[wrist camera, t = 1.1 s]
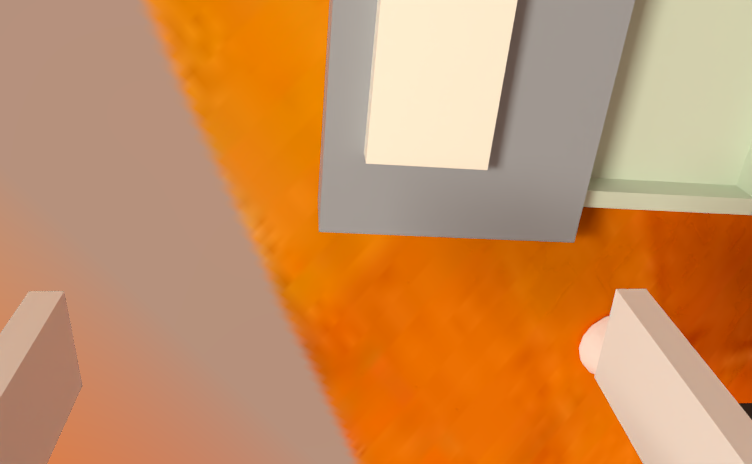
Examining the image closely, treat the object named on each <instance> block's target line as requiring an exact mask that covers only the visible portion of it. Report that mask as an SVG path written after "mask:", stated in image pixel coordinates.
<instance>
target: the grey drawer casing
mask: <svg viewBox="0 0 752 464" xmlns="http://www.w3.org/2000/svg"><path fill="white" fill-rule="evenodd" d="M634 3H635V0H518V1H517V6H516V12H515V17H514V23H513V29H512V34H511V40H510V46H509V51H508V57H507V62H506V68H505V74H504V79H503V85H502V91H501V96H500V102H499V108H498V113H497V119H496V124H495V130H494V136H493V141H492V147H491V153H490V158H489V164H488V169H487V170H475V169H456V168H438V167H420V166H401V165H383V164H366V161H365V156H364V147H365V135H366V124H367V113H368V102H369V90H370V79H371V68H372V57H373V45H374V34H375V23H376V12H377V0H330V4H329V21H328V38H327V55H326V73H325V90H324V107H323V124H322V141H321V158H320V175H319V192H318V218H319V232H335V233H359V234H383V235H406V236H430V237H454V238H477V239H501V240H525V241H549V242H572V243H574V241H575V237H576V233H577V229H578V225H579V221H580V217H581V213H582V209H583V205H584V201H585V197H586V193H587V189H588V185H589V181H590V177H591V173H592V170H593V166H594V162H595V158H596V154H597V150H598V146H599V142H600V138H601V134H602V130H603V126H604V122H605V118H606V114H607V110H608V106H609V102H610V98H611V94H612V90H613V86H614V82H615V78H616V74H617V70H618V66H619V62H620V58H621V54H622V50H623V47H624V43H625V39H626V35H627V31H628V27H629V23H630V19H631V15H632V11H633V7H634Z"/></svg>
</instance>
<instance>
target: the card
mask: <svg viewBox="0 0 752 464" xmlns="http://www.w3.org/2000/svg"><path fill="white" fill-rule="evenodd" d="M517 1H518V0H377V12H376V23H375V34H374V45H373V57H372V68H371V79H370V90H369V102H368V113H367V124H366V135H365V147H364V156H365V161H366V164H383V165H401V166H420V167H438V168H456V169H475V170H487V169H488V164H489V158H490V153H491V147H492V141H493V136H494V130H495V124H496V119H497V113H498V108H499V102H500V96H501V91H502V85H503V79H504V74H505V68H506V62H507V57H508V51H509V46H510V40H511V34H512V29H513V23H514V17H515V12H516V6H517Z"/></svg>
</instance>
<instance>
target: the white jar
mask: <svg viewBox="0 0 752 464" xmlns="http://www.w3.org/2000/svg"><path fill="white" fill-rule="evenodd" d="M608 320H609V316H607V317H604V318H603V319H601V320H599V321H598V322H596V323H595V324H593V325H592V326H591V327H590V328H589V329H588V331H587V332H586V333H585V334H584V335H583V337H582V340H581V343H580V346H579V353H580V360H581V361H582V363H583V364H584V366H585V367H586V368H587V370H588V371H589V372H591V373H593V374H595V373H596V369H597V365H598V361H599V356H600V352H601V348H602V344H603V340H604V336H605V332H606V328H607V324H608Z"/></svg>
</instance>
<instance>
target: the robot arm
mask: <svg viewBox="0 0 752 464" xmlns="http://www.w3.org/2000/svg"><path fill="white" fill-rule="evenodd" d="M595 379H596V381H597V382H598V384H599V386H600V388H601V390H602V391H603V393H604V395H605V397H606V398H607V400H608V402H609V404H610V406H611V407H612V409H613V411H614V413H615V414H616V416H617V418H618V420H619V422H620V423H621V425H622V427H623V429H624V430H625V432H626V434H627V436H628V438H629V439H630V441H631V443H632V445H633V446H634V448H635V450H636V452H637V454H638V455H639V457H640V459H641V461H642V462H643V464H752V403H740V404H739V403H738V402H737V401H736V400H735V399H734V397H733V396H732V395H731V394H730V392H729V391H728V390H727V389H726V387H725V386H724V385H723V384H722V382H721V381H720V380H719V379H718V377H717V376H716V375H715V374H714V373H713V371H712V370H711V369H710V368H709V366H708V365H707V364H706V363H705V361H704V360H703V359H702V358H701V356H700V355H699V354H698V353H697V351H696V350H695V349H694V348H693V347H692V345H691V344H690V343H689V342H688V340H687V339H686V338H685V337H684V335H683V334H682V333H681V332H680V330H679V329H678V328H677V327H676V325H675V324H674V323H673V322H672V321H671V319H670V318H669V317H668V316H667V314H666V313H665V312H664V311H663V309H662V308H661V307H660V306H659V304H658V303H657V302H656V301H655V299H654V298H653V297H652V296H651V295H650V293H649V292H648V291H647V290H646V289H616V292H615V296H614V300H613V304H612V308H611V312H610V316H609V320H608V324H607V328H606V332H605V336H604V340H603V344H602V348H601V352H600V356H599V361H598V365H597V369H596V373H595ZM81 387H82V381H81V376H80V371H79V366H78V360H77V355H76V350H75V345H74V340H73V335H72V330H71V324H70V320H69V314H68V309H67V304H66V298H65V294H64V291H29V292H28V294H27V295H26V297H25V298H24V300H23V301H22V303H21V304H20V305H19V307H18V308H17V310H16V311H15V313H14V314H13V316H12V317H11V319H10V320H9V322H8V323H7V325H6V326H5V328H4V329H3V330H2V332H1V333H0V464H47V463H48V460H49V458H50V456H51V454H52V451H53V449H54V447H55V445H56V443H57V440H58V438H59V436H60V434H61V432H62V429H63V427H64V425H65V423H66V421H67V418H68V416H69V414H70V412H71V410H72V407H73V405H74V403H75V401H76V398H77V396H78V394H79V392H80V390H81Z"/></svg>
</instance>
